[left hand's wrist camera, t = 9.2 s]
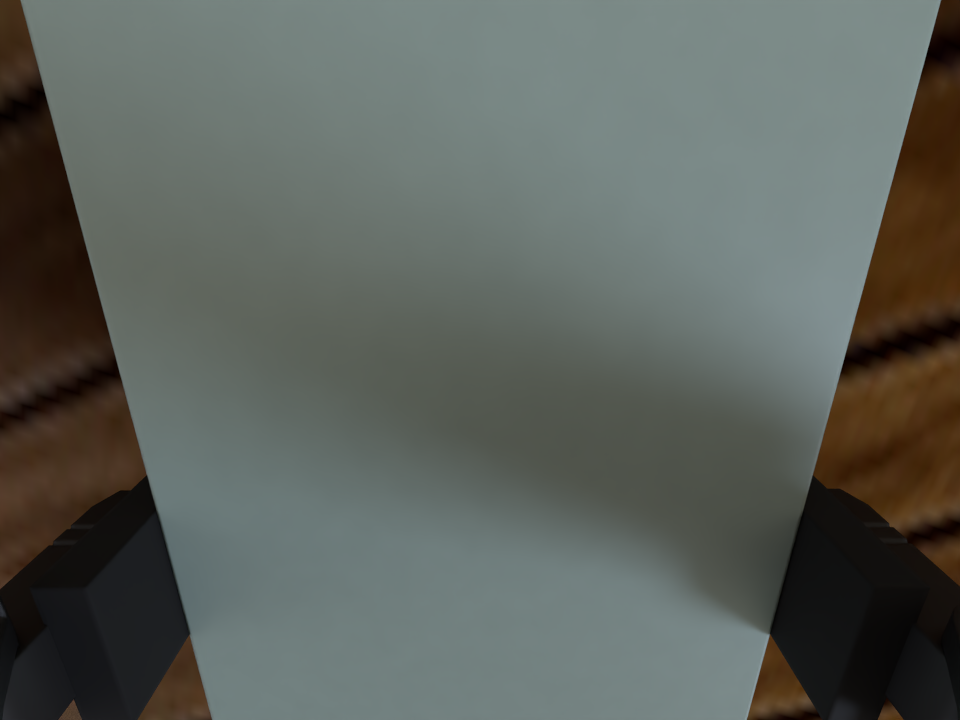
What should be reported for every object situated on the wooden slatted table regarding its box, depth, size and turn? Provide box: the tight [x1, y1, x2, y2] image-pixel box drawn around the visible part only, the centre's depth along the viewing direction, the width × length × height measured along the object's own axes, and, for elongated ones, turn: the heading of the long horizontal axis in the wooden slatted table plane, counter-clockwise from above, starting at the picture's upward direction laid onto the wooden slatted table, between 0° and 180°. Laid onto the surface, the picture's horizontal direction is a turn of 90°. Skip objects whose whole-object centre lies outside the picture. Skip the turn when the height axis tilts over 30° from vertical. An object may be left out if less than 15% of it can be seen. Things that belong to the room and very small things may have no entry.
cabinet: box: [21, 0, 941, 720], centre depth 11 cm, size 19×10×10 cm, turn 0°
